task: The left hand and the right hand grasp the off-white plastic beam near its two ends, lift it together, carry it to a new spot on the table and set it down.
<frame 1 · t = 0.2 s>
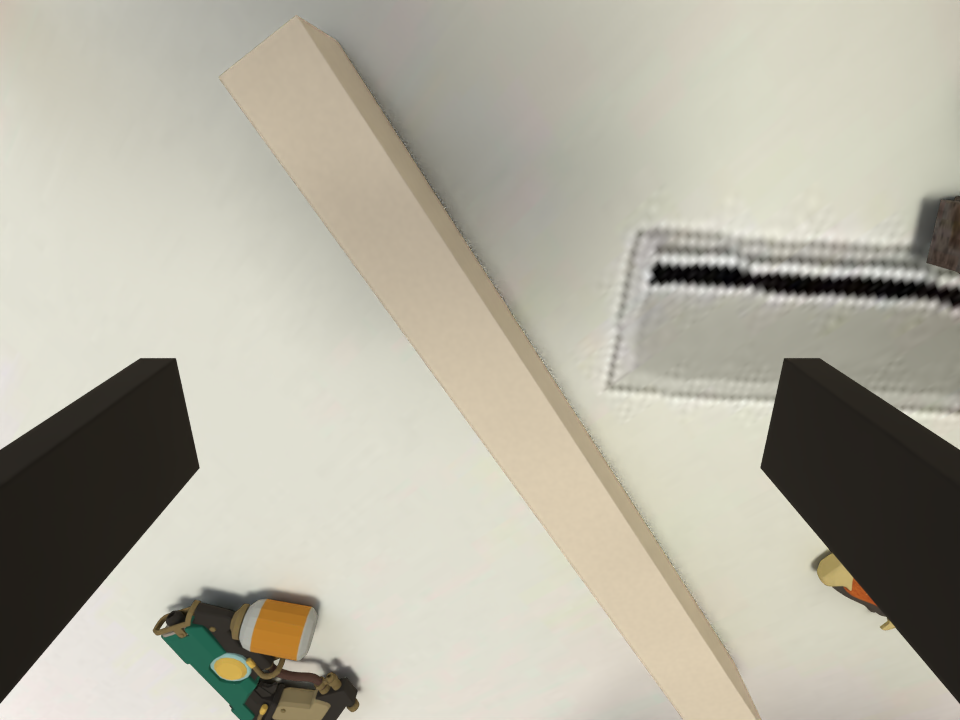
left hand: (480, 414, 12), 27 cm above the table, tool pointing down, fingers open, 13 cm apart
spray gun: (269, 650, 52), on the table
toy gun: (933, 553, 48), on the table
beam: (552, 436, 43), on the table
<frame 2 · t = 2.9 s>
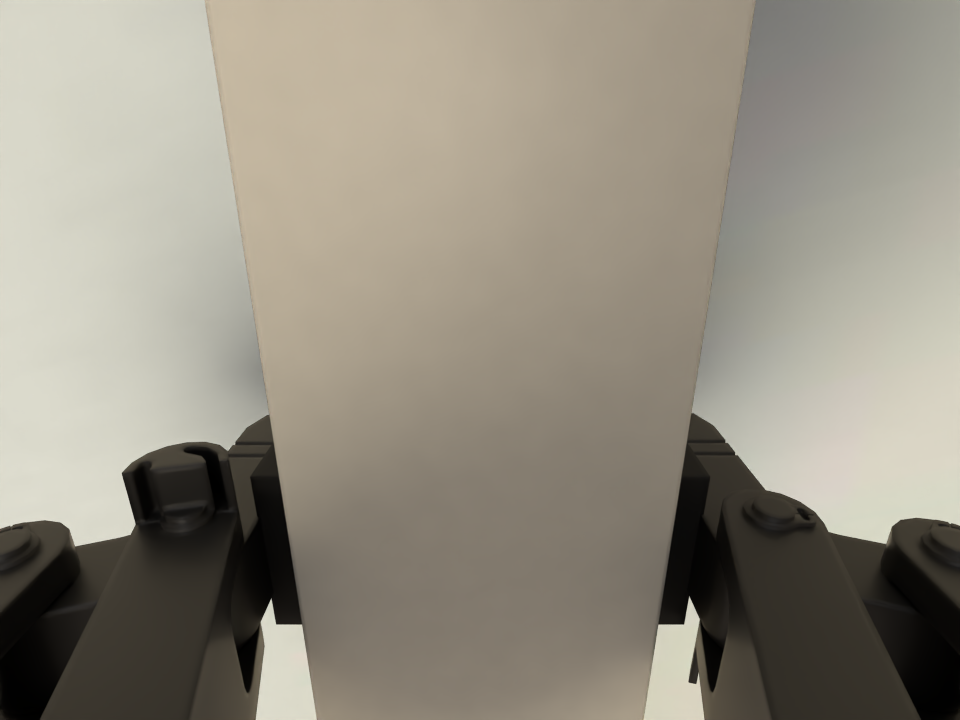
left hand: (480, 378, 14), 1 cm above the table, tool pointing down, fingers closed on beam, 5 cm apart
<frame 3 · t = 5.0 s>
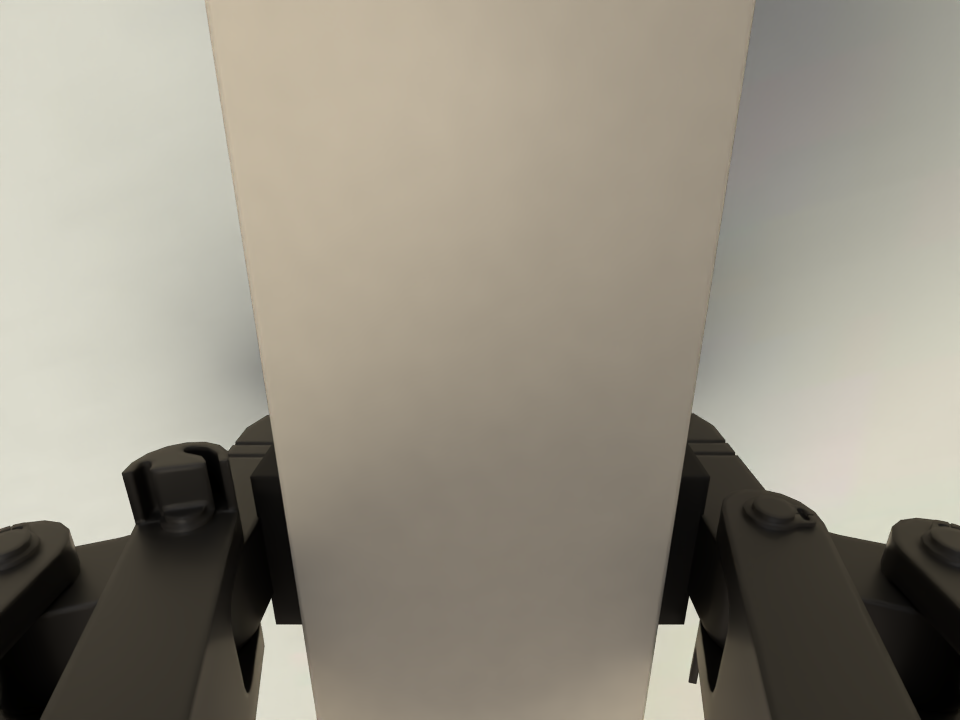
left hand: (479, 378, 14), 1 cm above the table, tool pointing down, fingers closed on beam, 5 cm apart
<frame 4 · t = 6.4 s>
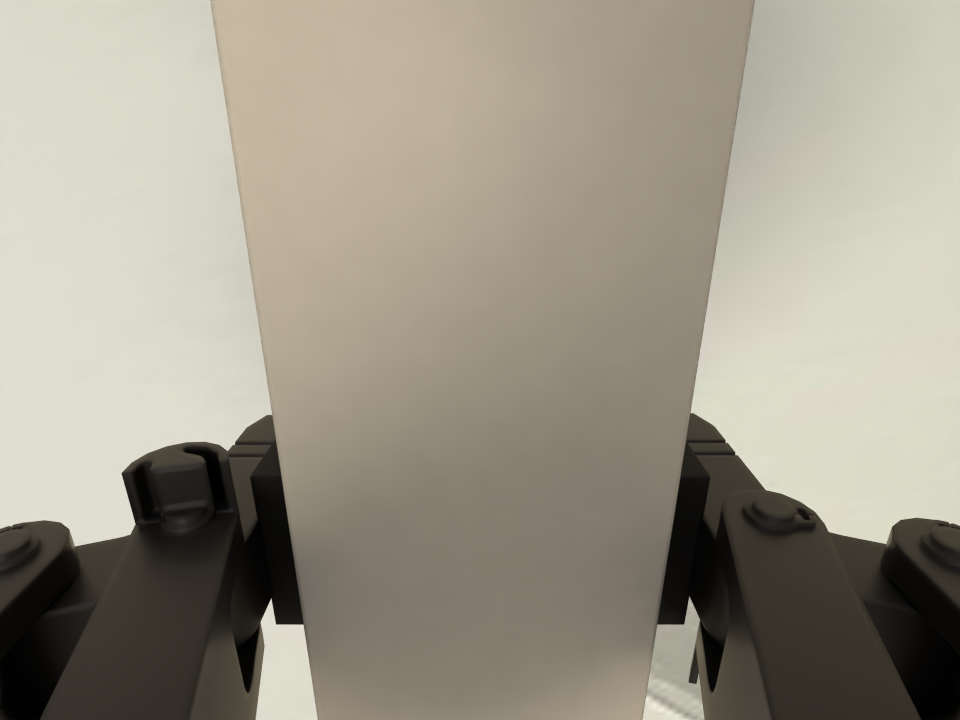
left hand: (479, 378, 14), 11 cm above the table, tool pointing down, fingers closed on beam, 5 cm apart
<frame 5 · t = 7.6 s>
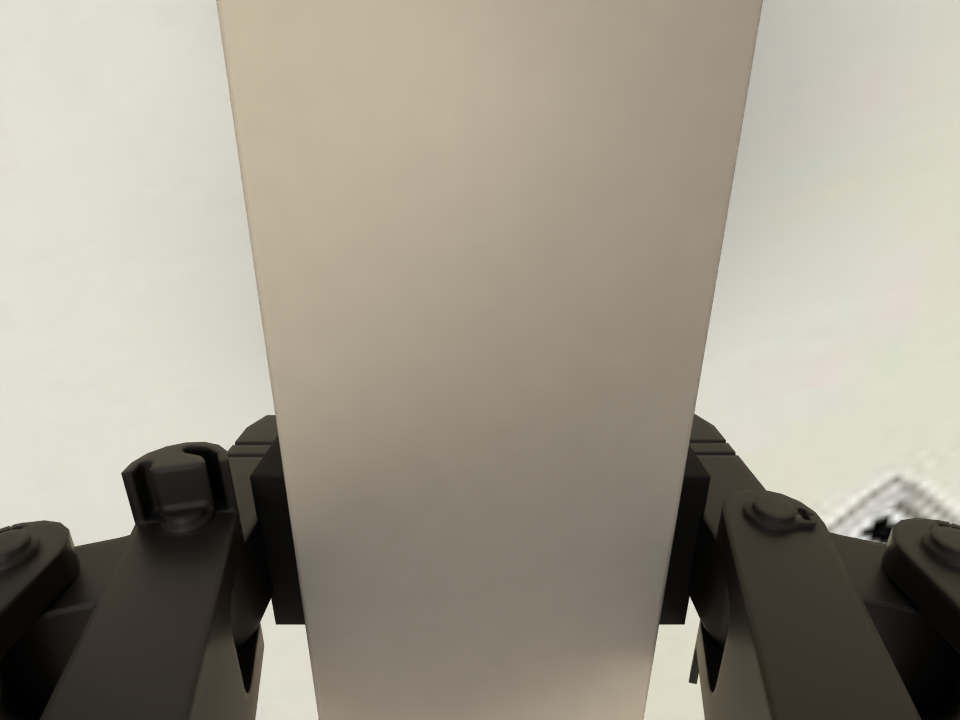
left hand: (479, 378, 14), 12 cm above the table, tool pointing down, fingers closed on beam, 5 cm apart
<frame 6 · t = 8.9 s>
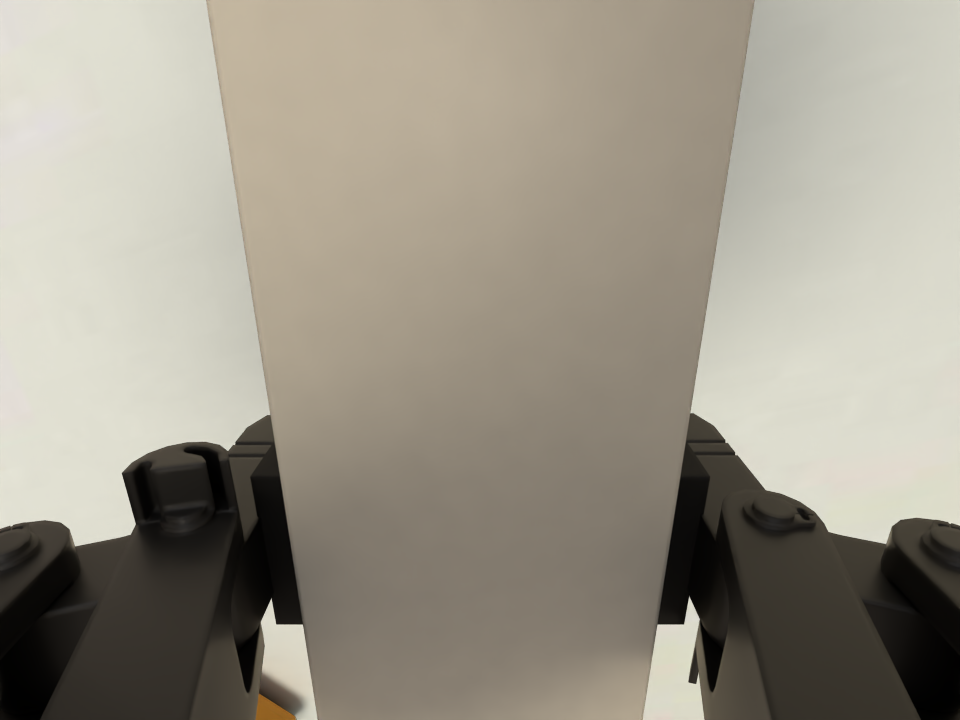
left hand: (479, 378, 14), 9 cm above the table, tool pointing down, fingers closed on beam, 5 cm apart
when the left hand's fingers open (2 cm above the table, at t = 10.1 s): beam stays where it is, on the table.
when the right hand's fingers open (2 cm above the table, at t = 10.1 s): beam stays where it is, on the table.
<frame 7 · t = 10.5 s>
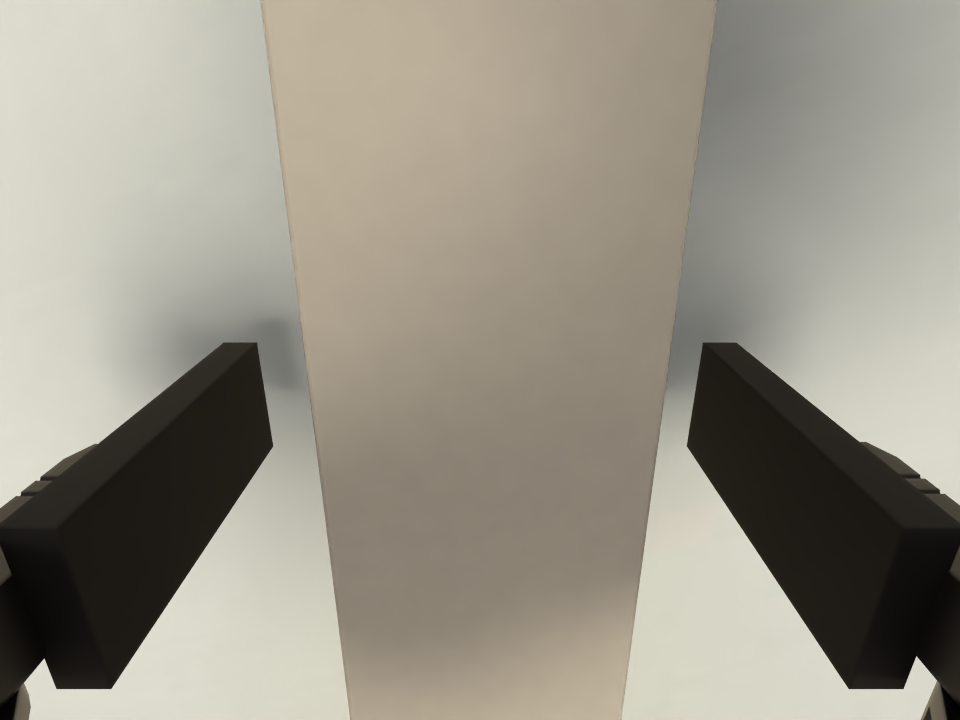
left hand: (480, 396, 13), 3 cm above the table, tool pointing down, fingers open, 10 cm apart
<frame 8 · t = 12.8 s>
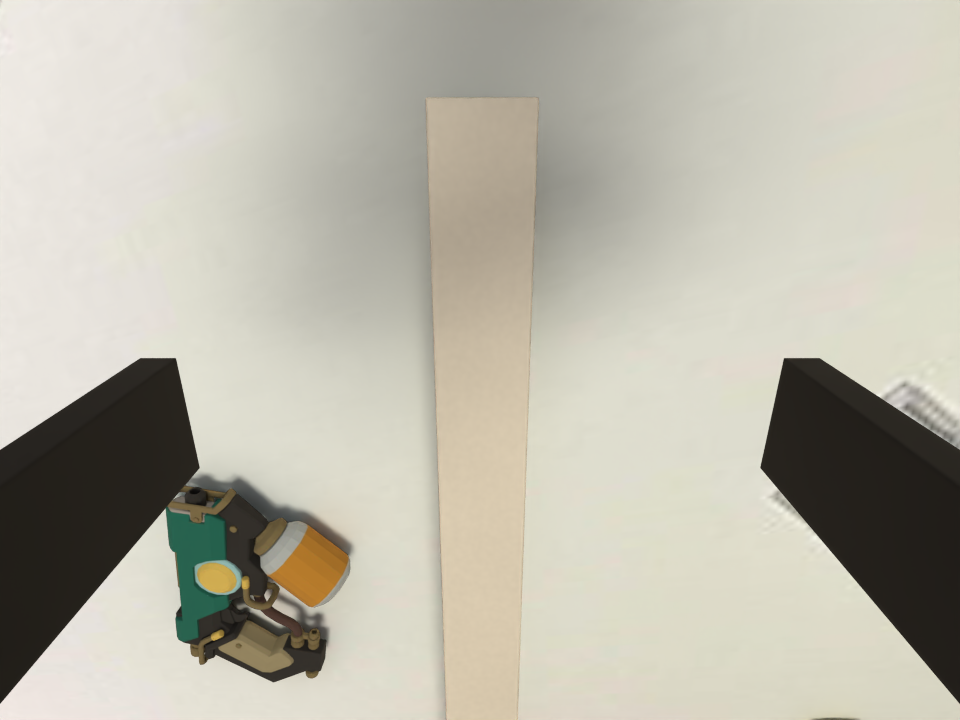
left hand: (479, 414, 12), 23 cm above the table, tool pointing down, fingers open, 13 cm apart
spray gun: (257, 573, 44), on the table
beam: (481, 543, 42), on the table
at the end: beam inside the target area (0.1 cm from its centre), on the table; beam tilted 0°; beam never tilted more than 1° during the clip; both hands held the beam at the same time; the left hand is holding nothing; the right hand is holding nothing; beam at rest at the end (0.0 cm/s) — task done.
